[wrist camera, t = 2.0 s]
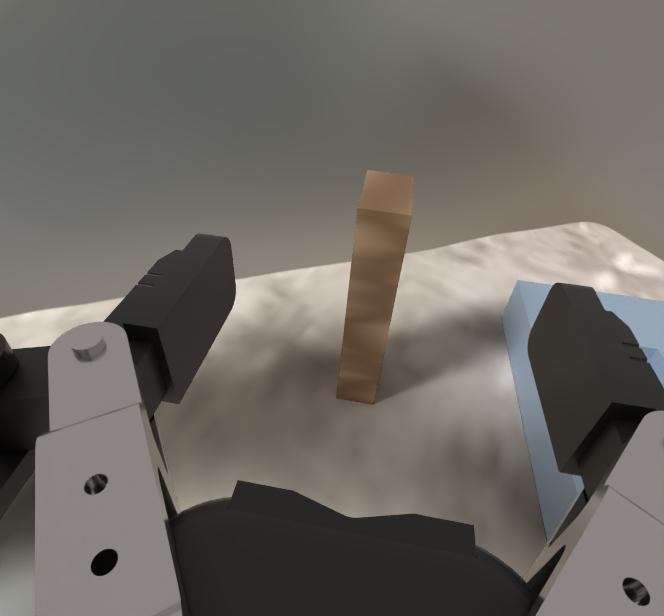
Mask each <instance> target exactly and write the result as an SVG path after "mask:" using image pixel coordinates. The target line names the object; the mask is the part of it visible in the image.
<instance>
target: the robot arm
mask: <svg viewBox="0 0 664 616" xmlns="http://www.w3.org/2000/svg"><path fill="white" fill-rule="evenodd" d="M235 295H236V284H235V275H234V267H233V258H232V250H231V243H230V241H229V239H228V238H227V237H221V236H213V235H206V234H197V235H195V237H194V238H193V239H192V240H191V241H190V243H189V244H188V245H187V246H186V247H185V249H184V250H183V251H181V250H175V251H173V252H172V253H170V254H168V255H166V256H164V257H163V258H161V259H159V260H158V261H157V262H156V263H155V264H154V266H153V267H152V268H151V269H150V270H149V271H148V274H147V275H145V276H144V277H143V278H142V279H141V280H140V281H139V283H138V285H136V286H135V287H134V288H133V289H132V290H131V291H130V293H129V294H128V295H127V296H126V297H125V298H124V299H123V300H122V301H121V303H120V304H119V305H118V306H117V307H116V308H115V309H114V310H113V312H112V313H111V314H110V315H109V316H108V317H107V318H106V319H105V321H104V322H93V323H88V324H84V325H80V326H78V327H75V328H73V329H71V330H69V331H67V332H65V333H64V334H62V335H61V336H60V337H59V338H57V339H56V341H55V342H54V343H53V344H52V346H45V347H33V348H21V349H11V347H10V346H9V344H8V342H7V341H6V339H5V338H4V336H3V335H2V334H0V519H1V517H2V516H3V514H4V513H5V511H6V510H7V509H8V507H9V506H10V504H11V503H12V501H13V500H14V499H15V497H16V496H17V494H18V493H19V491H20V490H21V489H22V487H23V486H24V484H25V483H26V481H27V480H28V478H29V477H30V476H31V474H32V473H33V471H34V470H35V616H664V387H663V386H662V384H661V382H660V380H659V379H658V377H657V375H656V373H655V371H654V370H653V368H652V366H651V364H650V363H647V357H646V355H645V354H644V352H643V350H642V348H639V343H638V341H637V339H636V338H635V336H634V334H633V332H632V330H631V329H630V327H629V326H628V325H627V324H625V323H624V322H623V321H622V320H621V319H620V318H619V317H618V316H617V315H616V314H614V313H613V312H612V311H606V310H605V309H604V307H603V305H602V303H601V301H600V300H599V298H598V296H597V294H596V292H595V290H594V289H593V288H592V287H587V286H580V285H572V284H565V283H555V284H554V285H553V286H552V287H551V289H550V291H549V293H548V295H547V297H546V299H545V301H544V303H543V306H542V308H541V310H540V312H539V314H538V316H537V318H536V320H535V322H534V324H533V326H532V329H531V331H530V334H529V338H528V346H527V350H528V357H529V361H530V364H531V368H532V372H533V376H534V380H535V383H536V387H537V391H538V395H539V398H540V402H541V406H542V410H543V414H544V417H545V421H546V425H547V429H548V433H549V436H550V440H551V444H552V448H553V452H554V455H555V459H556V463H557V467H558V471H559V472H560V473H566V474H571V475H577V476H581V478H582V481H583V484H584V487H583V488H582V490H581V491H580V492H579V493H578V494H577V496H576V498H575V499H574V501H573V502H572V504H571V505H570V507H569V509H568V510H567V512H566V513H565V515H564V517H563V518H562V520H561V521H560V523H559V525H558V526H557V528H556V529H555V531H554V532H553V534H552V536H551V537H550V539H549V540H548V542H547V544H546V545H545V547H544V548H543V550H542V551H541V553H540V555H539V556H538V557H537V559H536V560H535V562H534V563H533V564H532V566H531V567H530V568H529V570H528V571H527V572H526V574H525V575H524V576H523V578H521V577H520V576H519V575H518V574H517V573H516V572H515V571H514V570H513V569H512V568H510V567H509V566H508V565H506V564H505V563H504V562H502V561H501V560H500V559H499V558H497V557H496V556H494V555H492V554H491V553H489V552H488V551H486V550H484V549H483V548H481V547H479V546H477V545H475V535H474V525H470V524H464V523H459V522H454V521H449V520H443V519H438V518H433V517H428V516H422V515H417V514H403V515H390V516H377V517H363V518H351V517H347V516H344V515H342V514H340V513H338V512H336V511H334V510H332V509H330V508H328V507H326V506H324V505H322V504H320V503H317V502H315V501H313V500H311V499H309V498H307V497H305V496H303V495H301V494H299V493H297V492H295V491H292V490H286V489H281V488H276V487H271V486H265V485H260V484H255V483H250V482H244V481H239V480H238V481H237V484H236V487H235V490H234V492H233V495H232V497H228V498H221V499H216V500H211V501H208V502H205V503H202V504H198V505H195V506H193V507H191V508H189V509H187V510H184V511H182V512H181V510H180V507H179V504H178V500H177V497H176V494H175V491H174V487H173V483H172V480H171V476H170V472H169V468H168V464H167V459H166V455H165V451H164V447H163V443H162V439H161V435H160V431H159V427H158V423H157V419H156V416H155V413H154V412H155V411H156V409H157V407H158V406H159V404H160V402H161V401H165V402H170V403H176V404H179V403H180V402H181V400H182V398H183V396H184V394H185V393H186V391H187V389H188V387H189V385H190V384H191V382H192V380H193V378H194V376H195V375H196V373H197V371H198V369H199V367H200V366H201V364H202V362H203V360H204V358H205V357H206V355H207V353H208V351H209V349H210V348H211V346H212V344H213V342H214V340H215V338H216V337H217V335H218V333H219V331H220V329H221V328H222V326H223V324H224V322H225V320H226V319H227V317H228V315H229V313H230V311H231V310H232V307H233V305H234V301H235Z"/></svg>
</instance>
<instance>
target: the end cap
mask: <svg viewBox="0 0 664 616" xmlns="http://www.w3.org/2000/svg"><path fill="white" fill-rule="evenodd" d="M552 286H553V285H548V284H541V283H534V282H527V281H520V280H517V283H516V285H515V287H514V290H513V292H512V294H511V296H510V299H509V301H508V303H507V306H506V308H505V310H504V313H503V315H502V317H501V319H502V324H503V329H504V334H505V339H506V344H507V348H508V353H509V358H510V363H511V368H512V373H513V377H514V382H515V387H516V392H517V397H518V402H519V407H520V411H521V416H522V421H523V426H524V431H525V436H526V440H527V445H528V450H529V455H530V460H531V465H532V470H533V474H534V479H535V484H536V489H537V494H538V499H539V503H540V508H541V513H542V518H543V523H544V528H545V532H546V537H547V541H548V540H549V539H550V537H551V536H552V534H553V532H554V531H555V529H556V528H557V526H558V525H559V523H560V521H561V520H562V518H563V517H564V515H565V513H566V512H567V510H568V509H569V507H570V505H571V504H572V502H573V501H574V499H575V498H576V496H577V494H578V493H579V492H580V491H581V490H582V488H583V487H584V484H583V481H582V478H581V476H577V475H571V474H566V473H560V472H559V471H558V467H557V463H556V459H555V455H554V452H553V448H552V444H551V440H550V436H549V433H548V429H547V425H546V421H545V417H544V414H543V410H542V406H541V402H540V398H539V395H538V391H537V387H536V383H535V380H534V376H533V372H532V368H531V364H530V361H529V357H528V350H527V346H528V338H529V334H530V331H531V329H532V326H533V324H534V322H535V320H536V318H537V316H538V314H539V312H540V310H541V308H542V306H543V303H544V301H545V299H546V297H547V295H548V293H549V291H550V289H551V287H552ZM596 294H597V296H598V298H599V300H600V301H601V303H602V305H603V307H604V309H605V310H606V311H612V312H613V313H614V314H616V315H617V316H618V317H619V318H620V319H621V320H622V321H623V322H624V323H625V324H627V325H628V326H629V327H630V329H631V330H632V332H633V334H634V336H635V338H636V339H637V341H638V343H639V348H642V350H643V352H644V354H645V355H646V357H647V363H650V364H651V366H652V368H653V370H654V371H655V373H656V375H657V377H658V379H659V380H660V382H661V384H662V386H663V387H664V302H663V301H657V300H650V299H643V298H636V297H629V296H623V295H616V294H609V293H602V292H596Z"/></svg>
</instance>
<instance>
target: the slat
mask: <svg viewBox="0 0 664 616" xmlns="http://www.w3.org/2000/svg"><path fill="white" fill-rule="evenodd" d="M413 190H414V176H410V175H402V174H395V173H387V172H379V171H371V170H368V171H367V175H366V178H365V182H364V186H363V190H362V193H361V197H360V201H359V205H358V209H357V218H356V228H355V236H354V245H353V254H352V263H351V272H350V281H349V290H348V299H347V308H346V317H345V326H344V335H343V344H342V353H341V362H340V371H339V380H338V389H337V398H340V399H346V400H352V401H357V402H363V403H369V404H374V399H375V394H376V390H377V385H378V380H379V375H380V370H381V365H382V360H383V355H384V351H385V346H386V341H387V336H388V331H389V326H390V321H391V316H392V312H393V307H394V302H395V297H396V292H397V287H398V282H399V277H400V273H401V268H402V263H403V258H404V253H405V248H406V243H407V238H408V233H409V229H410V224H411V219H412V208H413Z"/></svg>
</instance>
